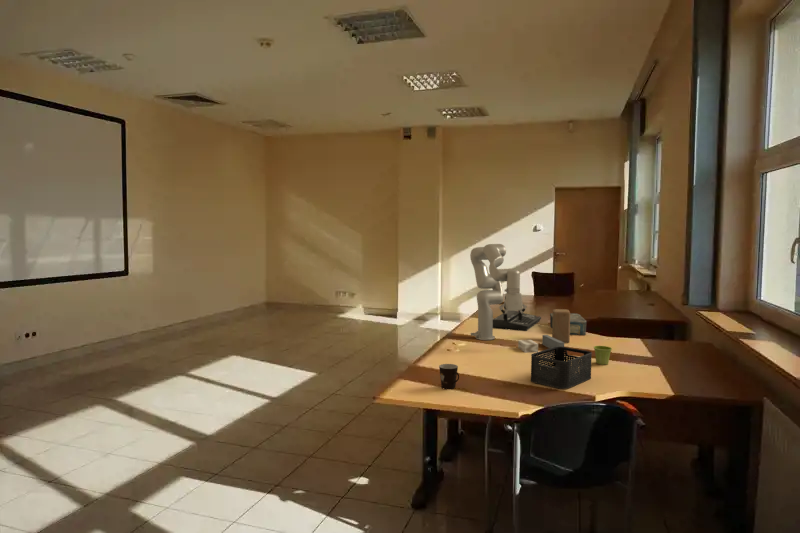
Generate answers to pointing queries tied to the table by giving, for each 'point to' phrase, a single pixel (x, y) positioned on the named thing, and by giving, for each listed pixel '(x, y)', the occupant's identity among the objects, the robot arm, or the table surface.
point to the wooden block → (561, 325)
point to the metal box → (574, 324)
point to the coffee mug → (448, 375)
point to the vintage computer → (515, 321)
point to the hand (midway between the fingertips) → (512, 320)
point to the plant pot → (602, 354)
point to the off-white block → (527, 346)
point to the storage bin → (560, 367)
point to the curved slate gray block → (551, 342)
